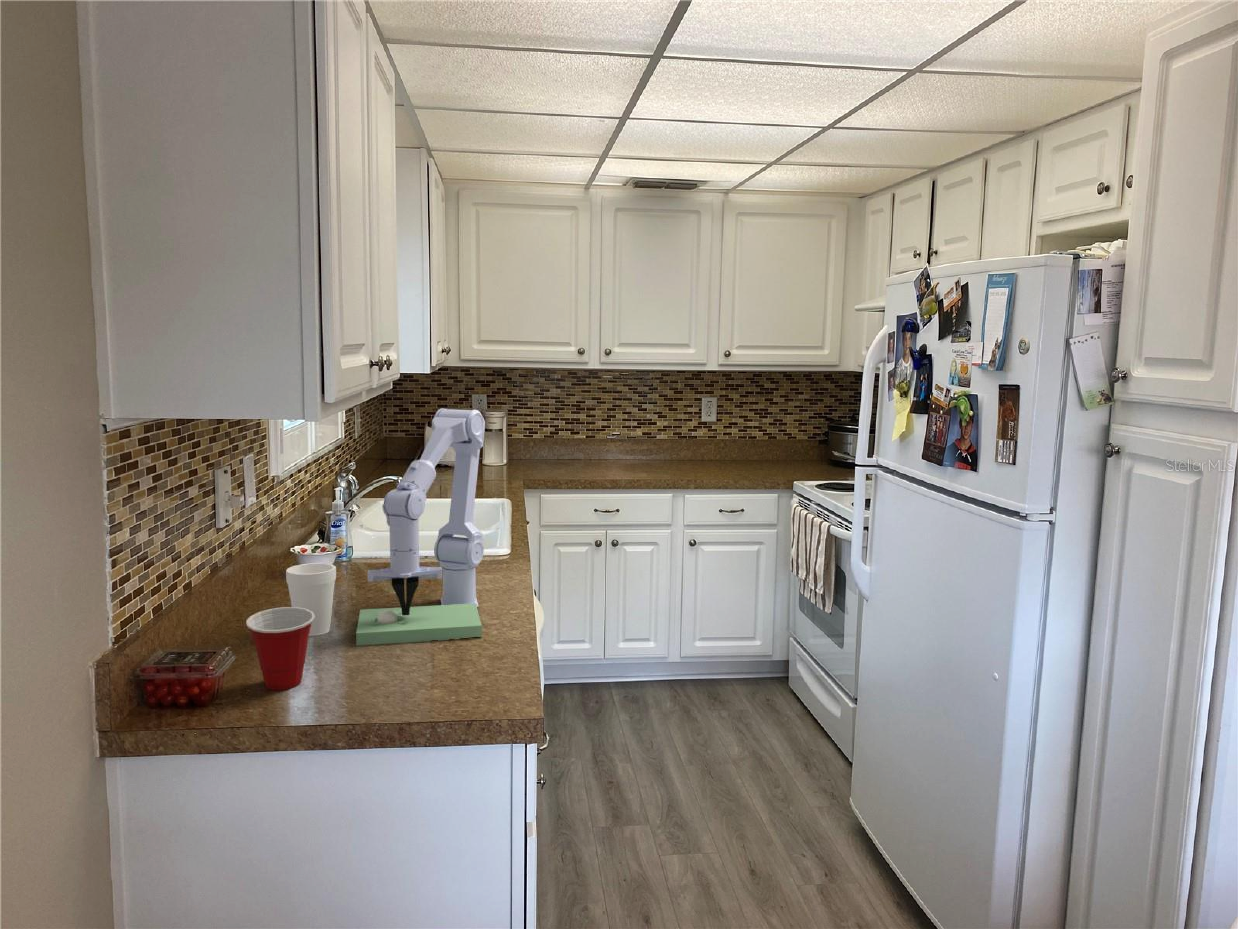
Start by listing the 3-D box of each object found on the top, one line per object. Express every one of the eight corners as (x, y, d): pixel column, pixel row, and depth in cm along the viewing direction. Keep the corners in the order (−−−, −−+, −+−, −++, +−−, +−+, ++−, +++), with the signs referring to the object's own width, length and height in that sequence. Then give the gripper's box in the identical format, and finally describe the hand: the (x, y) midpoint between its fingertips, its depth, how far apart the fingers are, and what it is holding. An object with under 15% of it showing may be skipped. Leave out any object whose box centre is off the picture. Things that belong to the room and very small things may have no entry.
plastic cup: (244, 699, 141) (241, 628, 140) (253, 676, 152) (250, 609, 150) (314, 693, 144) (312, 623, 143) (318, 670, 154) (316, 605, 153)
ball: (392, 629, 179) (373, 625, 178) (398, 611, 180) (379, 606, 178) (395, 634, 176) (376, 630, 174) (401, 615, 176) (382, 610, 174)
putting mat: (360, 621, 183) (360, 609, 183) (475, 614, 189) (475, 603, 188) (356, 645, 168) (356, 633, 167) (481, 637, 173) (481, 625, 173)
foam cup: (321, 621, 183) (319, 560, 181) (346, 630, 177) (345, 568, 175) (279, 632, 175) (276, 569, 174) (304, 642, 170) (302, 577, 168)
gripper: (366, 554, 170) (368, 621, 172) (441, 551, 173) (442, 617, 175) (367, 546, 177) (369, 611, 178) (440, 543, 180) (441, 607, 182)
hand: (405, 613), depth 177 cm, fingers closed
